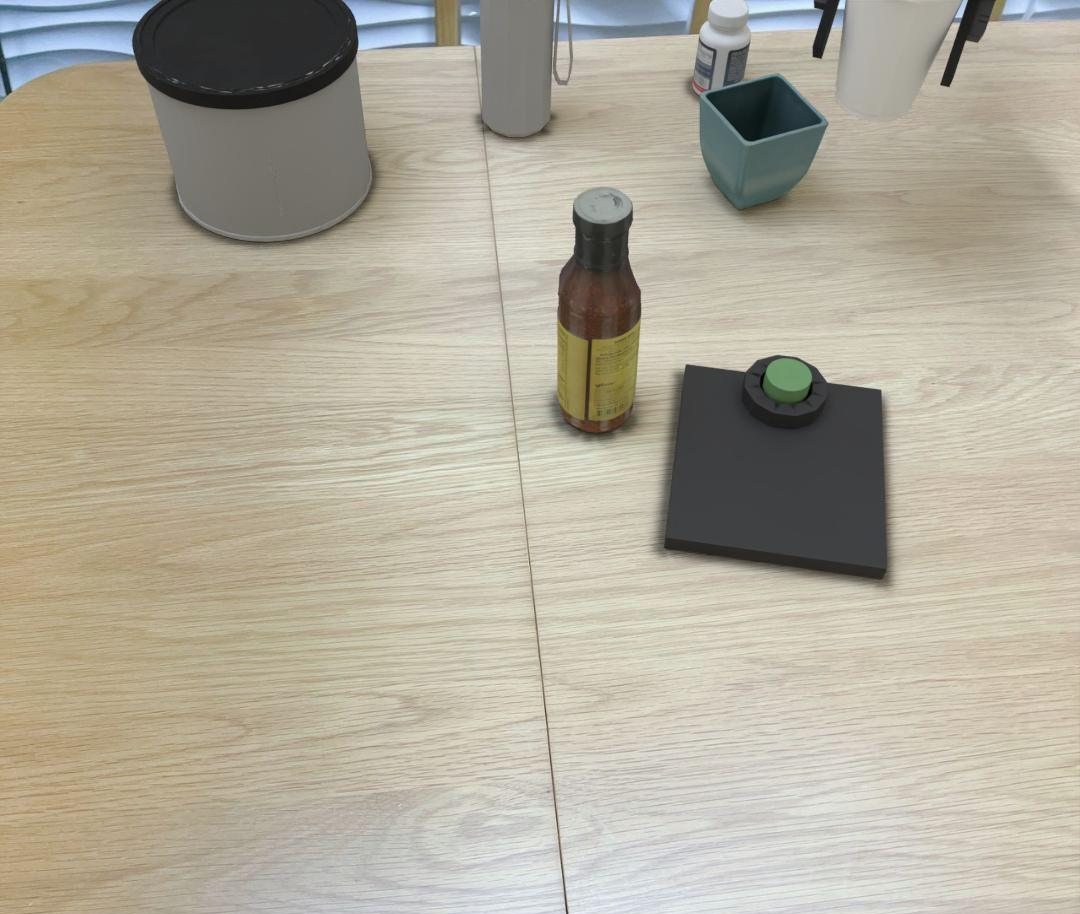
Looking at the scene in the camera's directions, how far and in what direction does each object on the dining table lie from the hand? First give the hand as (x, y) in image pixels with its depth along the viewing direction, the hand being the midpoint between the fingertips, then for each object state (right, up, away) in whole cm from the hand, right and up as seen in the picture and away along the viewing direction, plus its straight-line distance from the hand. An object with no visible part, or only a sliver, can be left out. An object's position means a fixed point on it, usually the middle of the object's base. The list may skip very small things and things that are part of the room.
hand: (881, 66), depth 85 cm
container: (-52, -2, +20) cm, 56 cm away
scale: (-8, -32, 0) cm, 32 cm away
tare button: (-7, -25, +2) cm, 26 cm away
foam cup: (+1, -1, +6) cm, 6 cm away
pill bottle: (-8, +11, +31) cm, 34 cm away
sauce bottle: (-22, -26, +4) cm, 35 cm away
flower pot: (-7, -3, +21) cm, 22 cm away
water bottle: (-28, +6, +27) cm, 39 cm away
